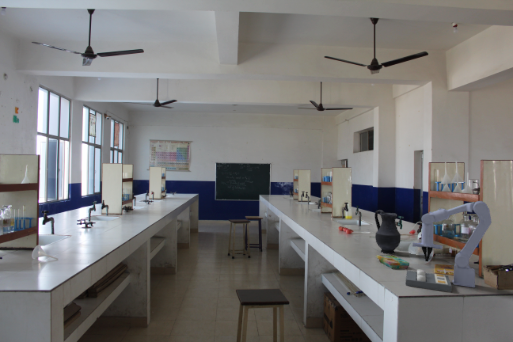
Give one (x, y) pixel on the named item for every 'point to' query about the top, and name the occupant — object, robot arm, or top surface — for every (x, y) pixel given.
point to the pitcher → (387, 232)
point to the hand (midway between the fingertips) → (426, 261)
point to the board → (429, 281)
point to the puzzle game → (393, 261)
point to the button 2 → (421, 278)
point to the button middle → (421, 272)
